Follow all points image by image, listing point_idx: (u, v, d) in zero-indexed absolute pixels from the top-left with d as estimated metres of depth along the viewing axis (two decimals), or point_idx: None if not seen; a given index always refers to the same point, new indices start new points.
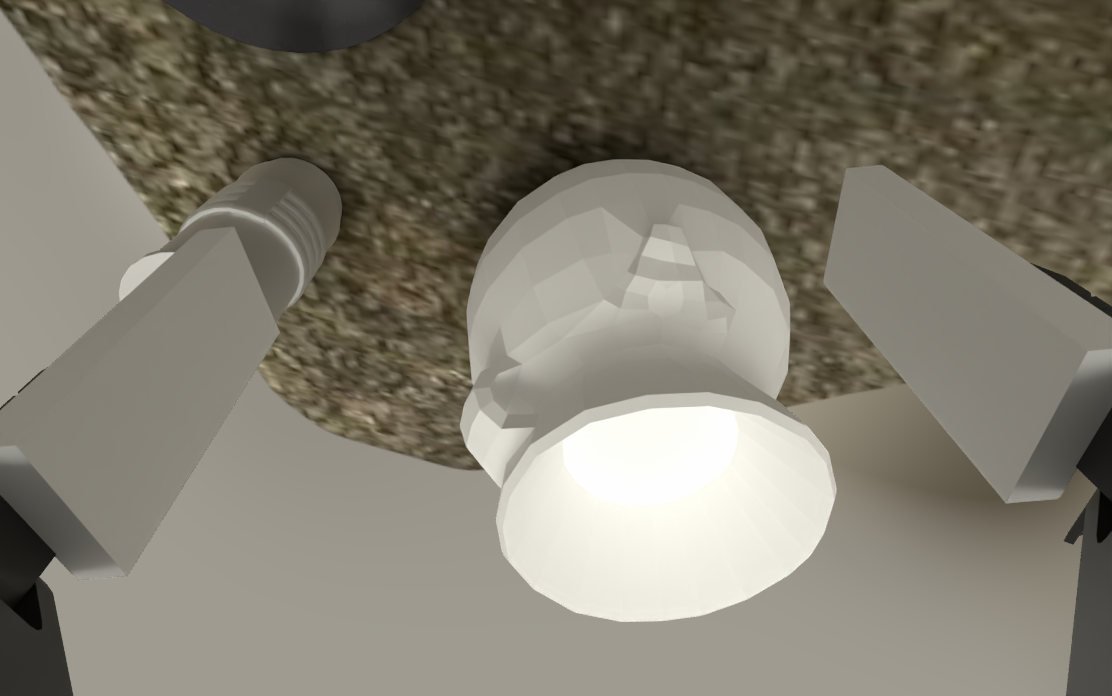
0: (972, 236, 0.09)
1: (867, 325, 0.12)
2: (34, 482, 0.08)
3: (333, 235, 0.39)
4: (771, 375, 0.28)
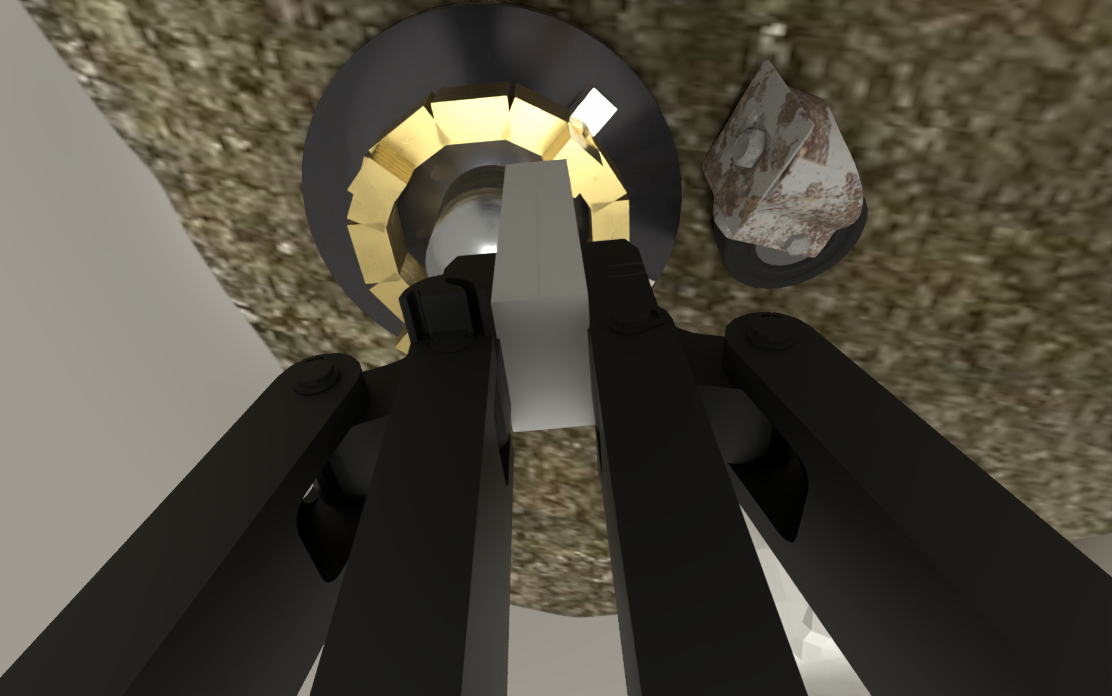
0: (563, 215, 0.11)
1: None
2: (533, 334, 0.09)
3: None
4: None
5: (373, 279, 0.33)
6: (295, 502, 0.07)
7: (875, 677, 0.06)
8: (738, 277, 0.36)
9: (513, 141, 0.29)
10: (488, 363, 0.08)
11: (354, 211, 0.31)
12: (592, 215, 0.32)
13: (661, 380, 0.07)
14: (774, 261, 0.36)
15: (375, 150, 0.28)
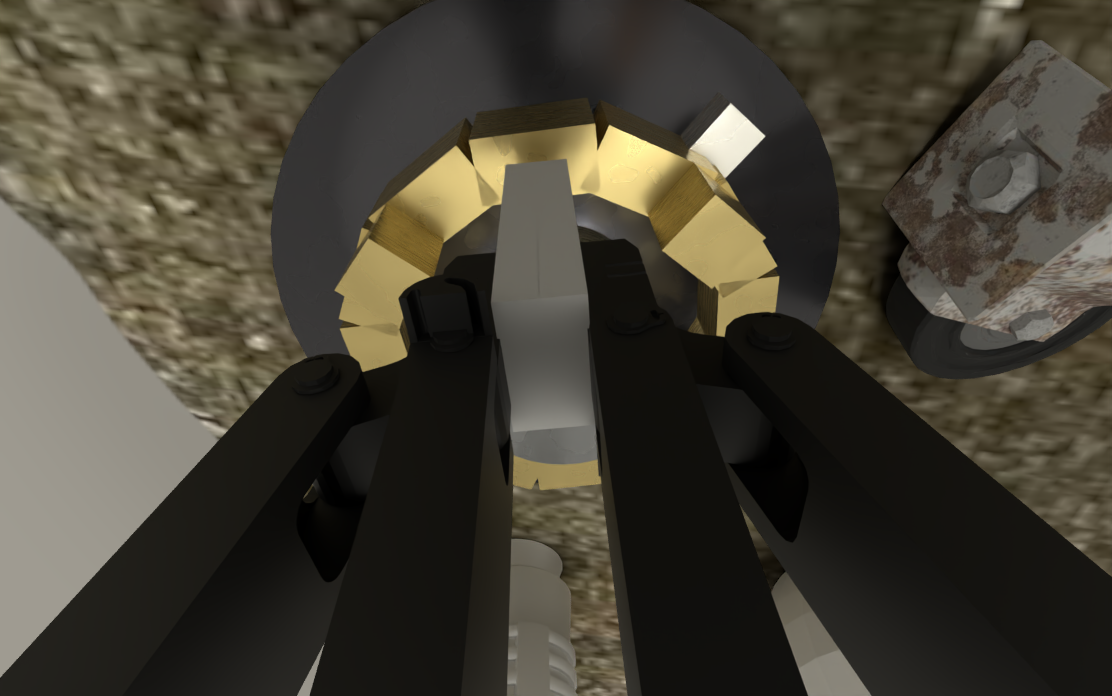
0: (562, 215, 0.11)
1: None
2: (533, 334, 0.09)
3: None
4: None
5: None
6: (295, 502, 0.07)
7: (875, 677, 0.06)
8: (922, 365, 0.25)
9: (602, 195, 0.18)
10: (488, 363, 0.08)
11: (350, 308, 0.20)
12: (719, 300, 0.20)
13: (661, 380, 0.07)
14: (981, 345, 0.24)
15: (379, 222, 0.17)
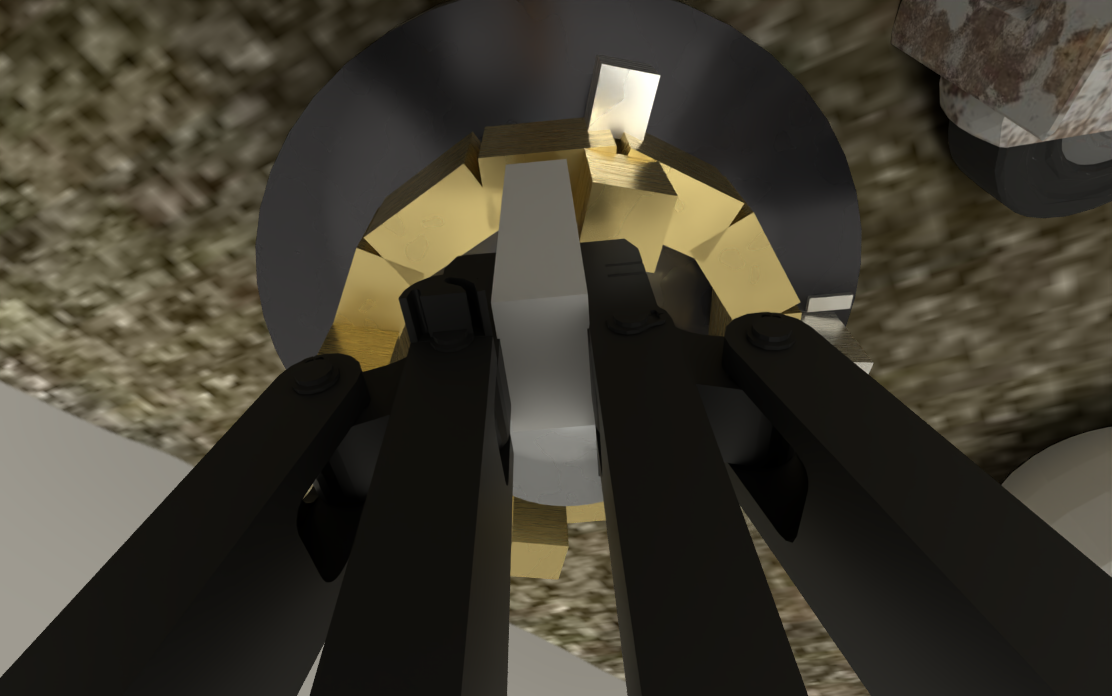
0: (563, 215, 0.11)
1: None
2: (533, 334, 0.09)
3: None
4: None
5: None
6: (295, 501, 0.07)
7: (875, 677, 0.06)
8: (1030, 211, 0.19)
9: None
10: (488, 363, 0.08)
11: None
12: (701, 266, 0.17)
13: (660, 380, 0.07)
14: (1103, 156, 0.18)
15: (322, 349, 0.17)
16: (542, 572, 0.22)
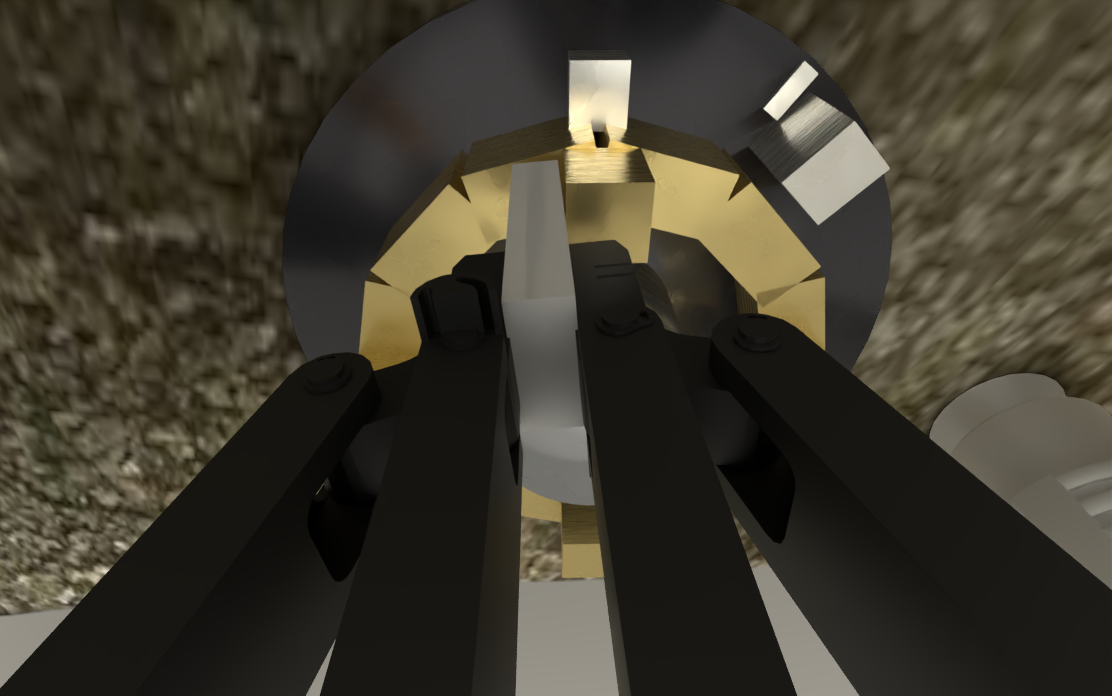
0: (552, 216, 0.11)
1: None
2: (543, 333, 0.09)
3: None
4: None
5: None
6: (306, 501, 0.07)
7: (863, 678, 0.06)
8: None
9: None
10: (499, 363, 0.08)
11: None
12: (707, 246, 0.17)
13: (650, 380, 0.07)
14: None
15: None
16: (598, 571, 0.22)
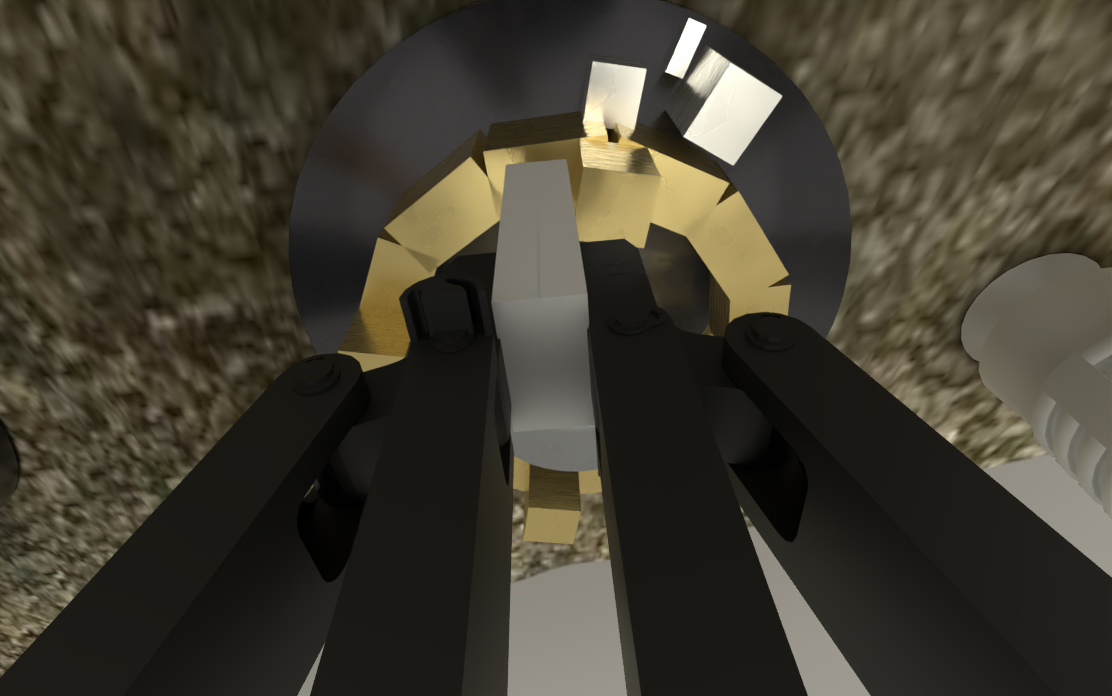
0: (562, 215, 0.11)
1: None
2: (534, 334, 0.09)
3: None
4: None
5: None
6: (295, 502, 0.07)
7: (874, 677, 0.06)
8: None
9: None
10: (489, 363, 0.08)
11: None
12: (693, 243, 0.19)
13: (660, 380, 0.07)
14: None
15: (350, 330, 0.19)
16: (557, 537, 0.23)
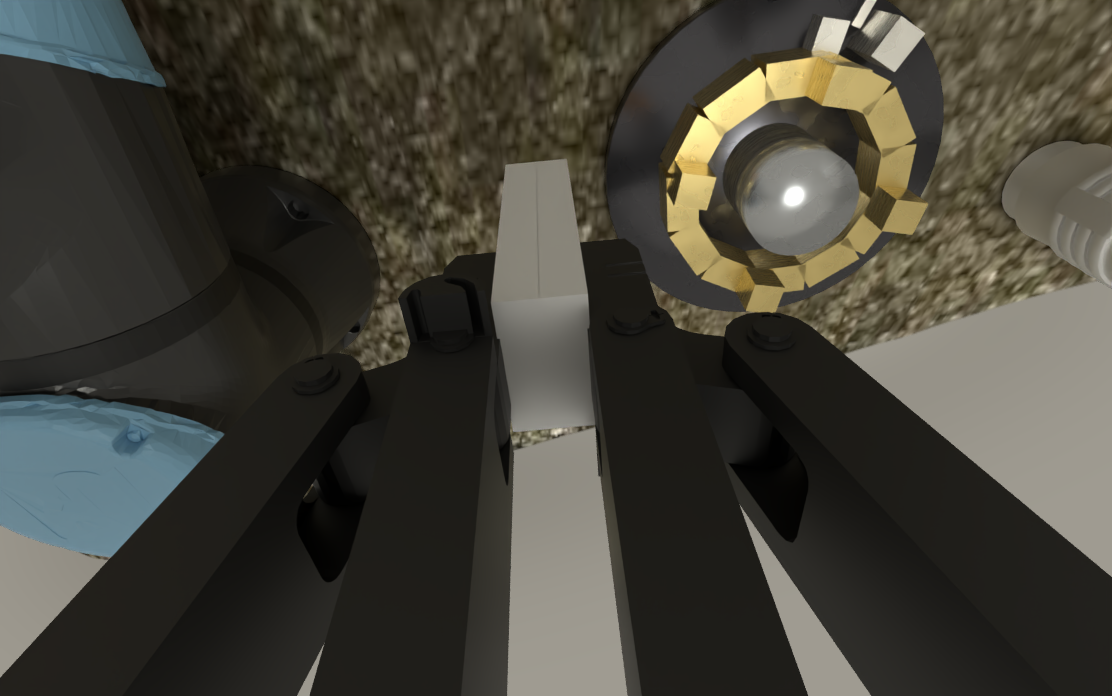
0: (563, 215, 0.11)
1: None
2: (533, 334, 0.09)
3: None
4: None
5: (701, 269, 0.40)
6: (295, 502, 0.07)
7: (875, 677, 0.06)
8: None
9: (777, 98, 0.34)
10: (488, 363, 0.08)
11: (671, 223, 0.38)
12: (866, 118, 0.35)
13: (660, 380, 0.07)
14: None
15: (679, 166, 0.35)
16: (766, 308, 0.39)
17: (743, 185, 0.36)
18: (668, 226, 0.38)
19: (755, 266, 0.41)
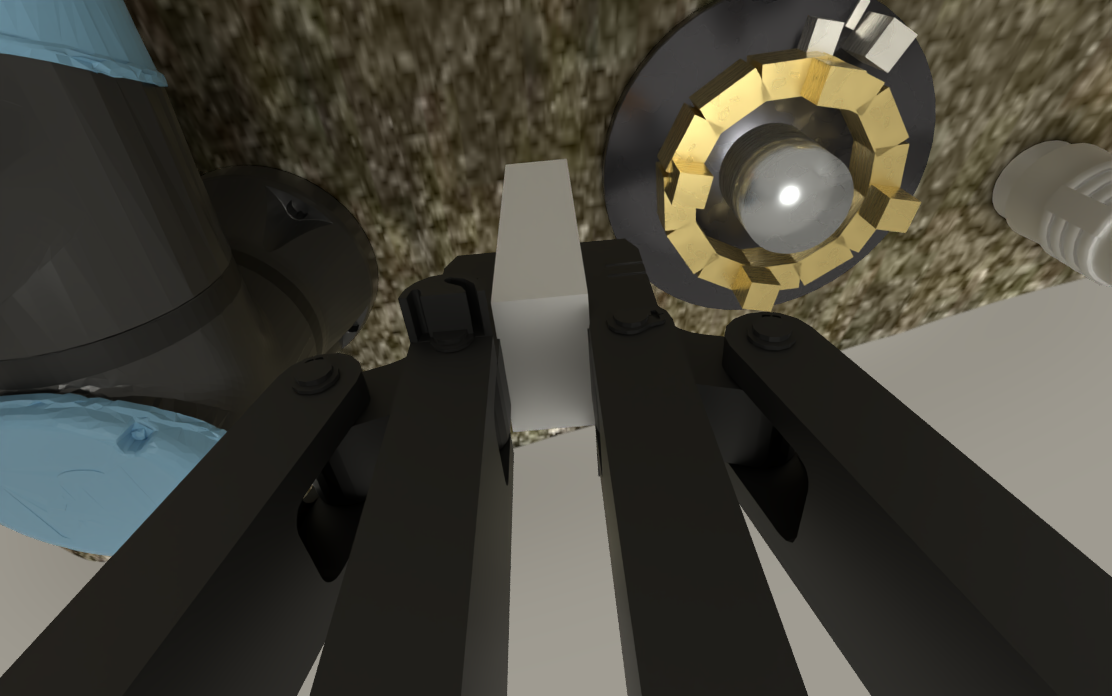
0: (563, 215, 0.11)
1: None
2: (533, 334, 0.09)
3: (1107, 151, 0.38)
4: None
5: (698, 267, 0.40)
6: (295, 502, 0.07)
7: (875, 677, 0.06)
8: None
9: (772, 99, 0.34)
10: (488, 363, 0.08)
11: (669, 222, 0.38)
12: (860, 118, 0.35)
13: (660, 380, 0.07)
14: None
15: (677, 166, 0.35)
16: (762, 306, 0.39)
17: (740, 184, 0.36)
18: (665, 225, 0.39)
19: (751, 264, 0.41)
